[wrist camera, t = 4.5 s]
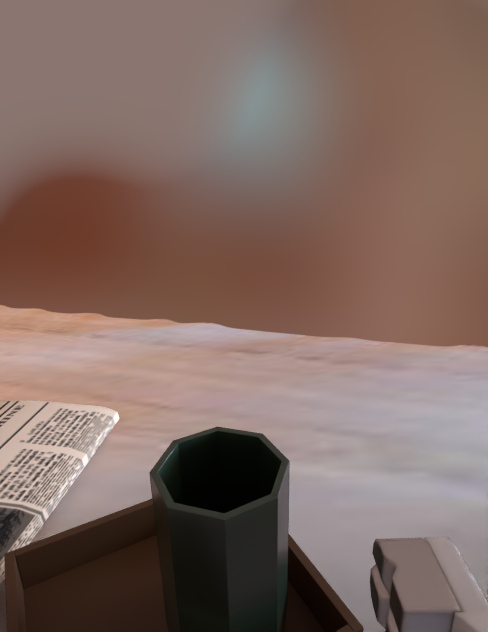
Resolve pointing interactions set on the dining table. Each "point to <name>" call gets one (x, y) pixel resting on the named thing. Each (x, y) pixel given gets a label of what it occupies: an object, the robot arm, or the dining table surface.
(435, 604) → the robot arm
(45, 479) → the newspaper
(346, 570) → the dining table surface
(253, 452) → the octagonal pencil cup
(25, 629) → the tray basket
